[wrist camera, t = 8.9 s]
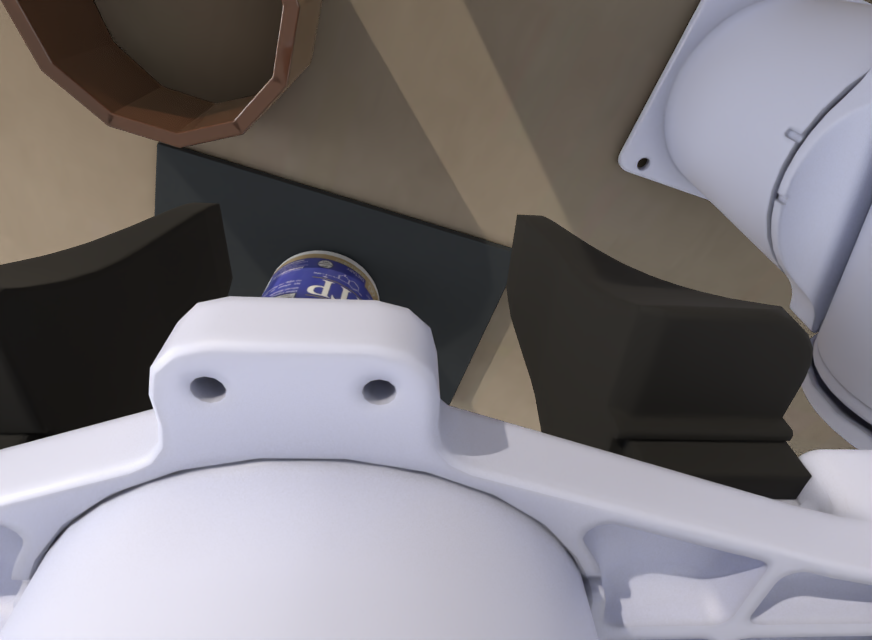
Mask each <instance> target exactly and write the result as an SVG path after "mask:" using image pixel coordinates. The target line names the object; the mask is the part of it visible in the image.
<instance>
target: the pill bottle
mask: <svg viewBox="0 0 872 640" xmlns="http://www.w3.org/2000/svg"><path fill="white" fill-rule="evenodd" d="M262 297H275V298H312V299H349V300H377V301H379V294H378V290H377V288H376V285H375V283H374V281H373V280H372V278H371V277H370V275H369V274H368V273H367V271H366V270H365V269H364V268H363V267H361V266H360V265H359V264H358V263H356V262H355V261H353V260H352V259H350V258H348V257H346V256H343V255H341V254H338V253H334V252H329V251H307V252H303V253H300V254H297V255H294V256H292V257H290V258H289V259H287V260H286V261H284V262H283V263H282V264H281V265H280V266H279V267H278V268H277V269H276V271H275V272H274V274H273V276H272V277H271V279H270V281H269V283H268V285H267V287H266V288H265V290H264V292H263V294H262Z"/></svg>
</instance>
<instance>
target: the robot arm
mask: <svg viewBox="0 0 872 640" xmlns="http://www.w3.org/2000/svg"><path fill="white" fill-rule="evenodd" d="M642 158H647V163H646V164H645V165H644V166H642V167H637V163H638V161H639V160H640V159H642ZM618 163H619V165H620V166H621V168H622V169H623V170H625V171H626V172H629V173H632V174H635V175H638V176H641V177H644V178H647V179H649V180H652V181H655V182H658V183H661V184H664V185H667V186H670V187H672V188H675V189H678V190H681V191H684V192H687V193H690V194H693V195H695V196H698V197H701V198H704V199H707V200H709V201H710V202H711V203H712V204H713V205H714V206H715V207H716V208H718V209H719V210H720V211H721V212H722V213H723V214H724V215H725V216H726V217H727V218H728V219H729V220H730V221H731V222H732V223H733V224H734V225H735V226H736V227H737V228H738V229H739V230H740V231H741V232H742V233H743V234H744V235H745V236H746V237H747V238H748V239H749V240H750V241H751V242H752V243H753V244H754V245H756V246H757V247H758V248H759V249H760V250H761V251H762V252H763V253H764V254H765V255H766V256H767V257H768V258H769V259H770V260H771V261H772V262H773V263H774V264H775V265H776V266H777V267H778V268H779V269H780V270H781V271H782V272H783V273H784V274H786V276H787V277H788V279H789V281H790V283H791V287H792V299H791V303H790V309H791V310H792V311H793V312H794V313H795V314H796V315H797V316H798V317H799V318H800V319H801V321H802V322H803V323H804V324H805V325H806V326H807V327H808V328H809V329H810V330H811V331H812V332H813V333H817V331H818V332H819V333H817V334H816V335H814V336H813V337H812V338H809V335H808V334H807V333H806V332H805V331H804V330H803V328H802V327H801V326H800V325H799V324H798V323H797V322H796V321H795V320H794V319H793V318H792V317H791V316H790V315H789V314H788V313H787V312H786V311H785V310H784V309H783V308H782V307H780V306H774V305H767V304H761V303H755V302H748V301H742V300H736V299H730V298H726V297H721V296H717V295H713V294H708V293H704V292H700V291H696V290H693V289H689V288H685V287H682V286H679V285H676V284H673V283H670V282H667V281H664V280H661V279H658V278H656V277H653V276H650V275H648V274H645V273H643V272H641V271H638V270H636V269H634V268H632V267H629V266H627V265H625V264H623V263H621V262H619V261H617V260H615V259H613V258H611V257H610V256H608V255H606V254H604V253H602V252H601V251H599V250H597V249H595V248H594V247H592V246H590V245H589V244H587V243H586V242H584V241H582V240H581V239H579V238H578V237H576V236H575V235H573V234H572V233H570V232H569V231H567V230H566V229H564V228H563V227H561V226H560V225H558V224H556V223H555V222H553V221H552V220H550V219H548V218H546V217H544V216H536V215H517V220H516V226H515V233H514V239H513V246H512V252H511V259H510V265H509V272H508V278H507V285H506V287H507V295H508V302H509V308H510V314H511V319H512V322H513V325H514V328H515V332H516V335H517V338H518V341H519V344H520V347H521V350H522V354H523V357H524V360H525V363H526V366H527V369H528V372H529V375H530V378H531V382H532V386H533V390H534V393H535V398H536V404H537V409H538V415H539V420H540V426H541V432H539V431H535V430H532V429H528V428H525V427H522V426H518V425H515V424H511V423H508V422H504V421H501V420H497V419H494V418H490V417H487V416H484V415H480V414H477V413H473V412H470V411H466V410H463V409H459V408H456V407H452V406H449V405H447V404H446V403H445V402H444V401H442V400H441V399H440V389H439V374H438V359H437V351H436V347H435V343H434V339H433V335H432V332H431V328H430V327H429V326H428V325H427V324H425V323H424V322H423V321H422V320H421V319H420V318H419V317H417V316H416V315H415V314H414V313H413V312H412V311H411V310H410V309H408V308H405V307H401V306H397V305H393V304H389V303H385V302H381V301H377V300H349V299H312V298H275V297H237V296H229V297H227V296H228V293H229V290H230V286H231V282H232V279H233V276H232V271H231V265H230V259H229V254H228V248H227V243H226V237H225V231H224V226H223V220H222V215H221V209H220V203H195V202H193V203H188V204H185V205H181V206H179V207H176V208H173V209H171V210H168V211H166V212H163V213H161V214H159V215H156V216H154V217H152V218H149V219H147V220H145V221H142V222H140V223H138V224H135V225H133V226H130V227H128V228H125V229H123V230H120V231H118V232H115V233H112V234H110V235H107V236H105V237H102V238H99V239H97V240H94V241H91V242H88V243H86V244H82V245H79V246H76V247H73V248H70V249H66V250H63V251H59V252H56V253H52V254H48V255H44V256H40V257H36V258H31V259H26V260H22V261H17V262H12V263H8V264H3V265H0V640H872V4H870V3H868V2H866V1H864V0H701V1H700V3H699V5H698V7H697V9H696V11H695V12H694V14H693V16H692V18H691V20H690V22H689V24H688V26H687V28H686V29H685V31H684V33H683V35H682V37H681V39H680V41H679V43H678V45H677V46H676V48H675V50H674V52H673V54H672V56H671V58H670V60H669V62H668V63H667V65H666V67H665V69H664V71H663V73H662V75H661V77H660V78H659V80H658V82H657V84H656V86H655V88H654V90H653V92H652V94H651V95H650V97H649V99H648V101H647V103H646V105H645V107H644V109H643V111H642V112H641V114H640V116H639V118H638V120H637V122H636V124H635V126H634V128H633V129H632V131H631V133H630V135H629V137H628V139H627V141H626V143H625V144H624V146H623V148H622V150H621V152H620V154H619V157H618ZM800 386H801V387H802V389H803V391H804V393H805V396H806V398H807V400H808V401H809V402H810V404H811V405H812V407H813V408H814V410H815V411H816V412H817V414H818V415H819V416H820V417H821V418H822V419H823V420H824V421H825V422H826V423H827V424H828V425H829V426H830V427H831V428H832V429H833V430H834V431H835V432H837V433H838V434H839V435H840V436H841V437H843V438H844V439H845V440H846V441H847V442H849V443H850V444H851V445H853V446H854V447H856V448H857V449H858V450H857V449H818V450H811V451H808V452H806V453H804V454H802V455H800V456H799V457H797V455H796V454H795V453H794V451H793V450H792V449H791V447H790V446H789V445H788V444H787V442H786V441H790V440H791V438H792V436H793V431H792V429H791V428H790V427H789V425H788V424H787V423H786V421H785V420H784V419H783V418H782V417H783V415H784V414H785V412H786V410H787V408H788V407H789V405H790V403H791V402H792V400H793V398H794V397H795V395H796V393H797V391H798V390H799V388H800Z"/></svg>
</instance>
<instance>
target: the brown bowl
mask: <svg viewBox="0 0 872 640" xmlns="http://www.w3.org/2000/svg"><path fill="white" fill-rule="evenodd" d="M1 1H2V3H3V5H4V7H5V8H6V10H7V12H8V14H9V15H10V17H11V19H12V21H13V22H14V24H15V26H16V27H17V29H18V31H19V33H20V34H21V36H22V38H23V40H24V41H25V43H26V45H27V47H28V48H29V50H30V52H31V54H32V55H33V57H34V59H35V60H36V62H37V64H38V66H39V67H40V69H41V71H43V72H44V73H45V74H46V75H47V76H49V77H50V78H51V79H52V80H53V81H55V82H56V83H57V84H58V85H60V86H61V87H62V88H63V89H64V90H66V91H67V92H68V93H69V94H70V95H72V96H73V97H74V98H75V99H76V100H78V101H79V102H80V103H81V104H82V105H84V106H85V107H86V108H87V109H88V110H90V111H91V112H92V113H93V114H94V115H96V116H97V117H98V118H99V119H100V120H102V121H103V122H104V123H105V124H106V125H108V126H110V127H113V128H116V129H120V130H123V131H126V132H129V133H133V134H136V135H139V136H142V137H146V138H149V139H152V140H156V141H159V142H162V143H165V144H169V145H172V146H175V147H178V148H183V147H187V146H192V145H196V144H201V143H206V142H210V141H215V140H220V139H224V138H229V137H233V136H238V135H243V134H244V133H245V132H246V131H247V130H248V129H249V128H250V127H251V126H252V125H253V124H254V123H255V122H256V121H257V120H258V119H259V118H260V117H261V116H262V115H263V114H264V113H265V112H266V111H267V110H268V109H269V108H270V107H271V106H272V105H273V104H274V103H275V102H276V101H277V99H278V98H279V97H280V96H281V95H282V94H283V93H284V92H285V91H286V90H287V89H288V87H289V86H290V85H291V84H292V83H293V82H294V81H295V80H296V79H297V78H298V76H299V75H300V74H301V73H302V72H303V71H304V70H305V69H306V68H307V67H308V65H309V64H310V63H311V60H312V54H313V49H314V43H315V38H316V33H317V27H318V22H319V16H320V11H321V5H322V0H281V1H282V5H283V9H282V16H281V22H280V29H279V36H278V43H277V49H276V56H275V63H274V70H273V76H272V77H271V79H270V80H269V81H268V82H267V83H266V84H265V85H264V86H263V88H262V89H261V90H260V91H259V92H258V93H257V94H256V95H252V96H247V97H243V98H239V99H234V100H230V101H225V102H221V103H216V104H215V103H212V102H209V101H206V100H203V99H200V98H197V97H193V96H190V95H187V94H184V93H181V92H178V91H175V90H172V89H169V88H166V87H163V86H161V85H160V84H159V83H158V82H157V81H156V80H155V79H153V78H152V77H151V76H150V75H149V74H148V73H147V72H146V71H145V70H144V69H142V68H141V67H140V66H139V65H138V64H137V63H136V62H135V61H134V60H132V59H131V58H130V57H129V56H128V55H127V54H126V53H125V52H124V51H123V50H121V49H120V48H119V47H118V46H117V45H116V44H115V43H114V42H113V40H112V38H111V36H110V34H109V32H108V30H107V28H106V26H105V24H104V22H103V20H102V17H101V15H100V13H99V11H98V9H97V7H96V5H95V3H94V1H93V0H1Z"/></svg>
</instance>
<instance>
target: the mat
mask: <svg viewBox="0 0 872 640" xmlns="http://www.w3.org/2000/svg"><path fill="white" fill-rule="evenodd" d="M193 202H195V203H220V209H221V215H222V220H223V226H224V231H225V237H226V243H227V248H228V254H229V259H230V265H231V271H232V276H233V279H232V282H231V286H230V290H229V293H228V296H227V297H229V296H237V297H262V294H263V292H264V290H265V288H266V287H267V285H268V283H269V281H270V279H271V277H272V276H273V274H274V272H275V271H276V269H277V268H278V267H279V266H280V265H281V264H282V263H283V262H284V261H286V260H287V259H289V258H290V257H292V256H294V255H297V254H300V253H303V252H307V251H329V252H334V253H338V254H341V255H343V256H346V257H348V258H350V259H352V260H353V261H355V262H356V263H358V264H359V265H360V266H361V267H363V268H364V269H365V270H366V271H367V273H368V274H369V275H370V277H371V278H372V280H373V281H374V283H375V285H376V288H377V290H378V294H379V301H381V302H385V303H389V304H393V305H397V306H401V307H405V308H408V309H410V310H411V311H412V312H413V313H414V314H415V315H416V316H417V317H419V318H420V319H421V320H422V321H423V322H424V323H425V324H427V325H428V326H429V327H430V328H431V332H432V335H433V339H434V343H435V347H436V351H437V359H438V374H439V389H440V399H441V400H442V401H444V402H445V403H446V404H447V405H450V402H451V400H452V398H453V396H454V394H455V392H456V390H457V388H458V386H459V384H460V381H461V379H462V377H463V375H464V373H465V371H466V369H467V367H468V365H469V363H470V361H471V358H472V356H473V354H474V352H475V350H476V348H477V346H478V344H479V342H480V340H481V337H482V335H483V333H484V331H485V329H486V327H487V325H488V323H489V321H490V319H491V316H492V314H493V312H494V310H495V308H496V306H497V304H498V302H499V300H500V298H501V295H502V293H503V291H504V289H505V287H506V285H507V278H508V272H509V265H510V259H511V252H512V248H509V247H506V246H503V245H499V244H496V243H493V242H490V241H486V240H483V239H480V238H476V237H473V236H470V235H467V234H463V233H460V232H457V231H454V230H450V229H447V228H444V227H441V226H437V225H434V224H431V223H428V222H424V221H421V220H418V219H414V218H411V217H408V216H405V215H401V214H398V213H395V212H392V211H388V210H385V209H382V208H379V207H375V206H372V205H369V204H366V203H362V202H359V201H356V200H353V199H349V198H346V197H343V196H339V195H336V194H333V193H330V192H326V191H323V190H320V189H317V188H313V187H310V186H307V185H304V184H300V183H297V182H294V181H291V180H287V179H284V178H281V177H277V176H274V175H271V174H268V173H264V172H261V171H258V170H255V169H251V168H248V167H245V166H242V165H238V164H235V163H232V162H229V161H225V160H222V159H219V158H215V157H212V156H209V155H206V154H202V153H199V152H196V151H193V150H189V149H186V148H178V147H175V146H172V145H169V144H165V143H162V142H159V143H158V144H157V165H156V192H155V216H156V215H159V214H161V213H163V212H166V211H168V210H171V209H173V208H176V207H179V206H181V205H185V204H188V203H193Z"/></svg>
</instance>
